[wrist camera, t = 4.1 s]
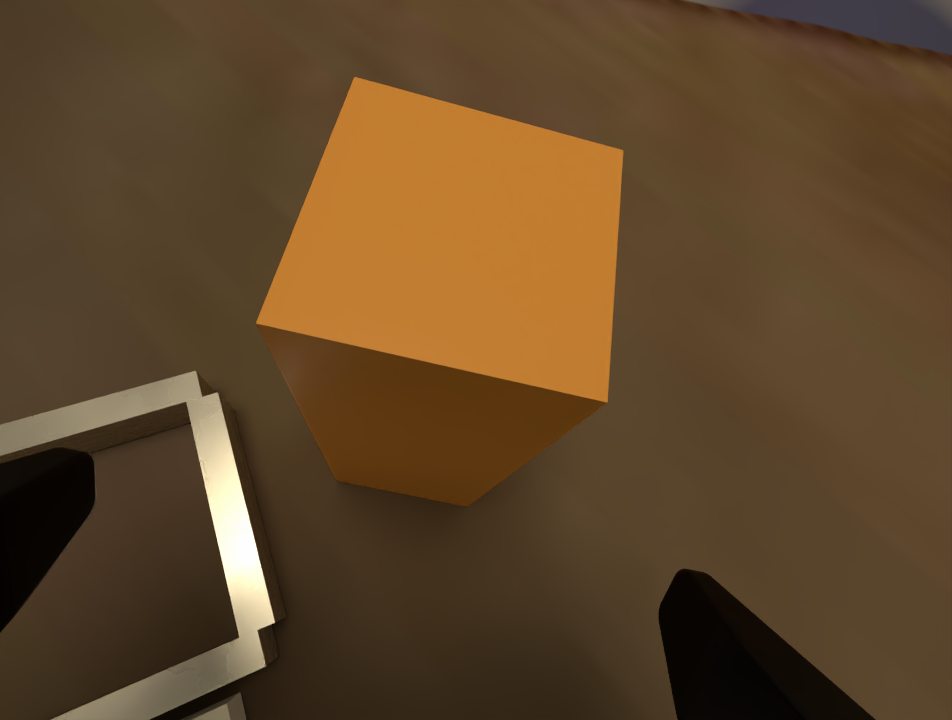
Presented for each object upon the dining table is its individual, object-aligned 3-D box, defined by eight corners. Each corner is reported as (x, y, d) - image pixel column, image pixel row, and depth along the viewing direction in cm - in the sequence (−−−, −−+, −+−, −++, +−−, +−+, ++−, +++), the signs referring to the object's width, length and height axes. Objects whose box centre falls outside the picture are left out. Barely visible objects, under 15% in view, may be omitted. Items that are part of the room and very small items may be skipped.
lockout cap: (467, 507, 19) (607, 402, 7) (336, 481, 19) (255, 323, 7) (487, 386, 21) (623, 150, 9) (370, 360, 21) (354, 76, 9)
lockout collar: (294, 648, 16) (283, 658, 14) (-68, 812, 13) (-138, 850, 12) (227, 385, 19) (211, 366, 17) (-83, 475, 16) (-141, 463, 15)
